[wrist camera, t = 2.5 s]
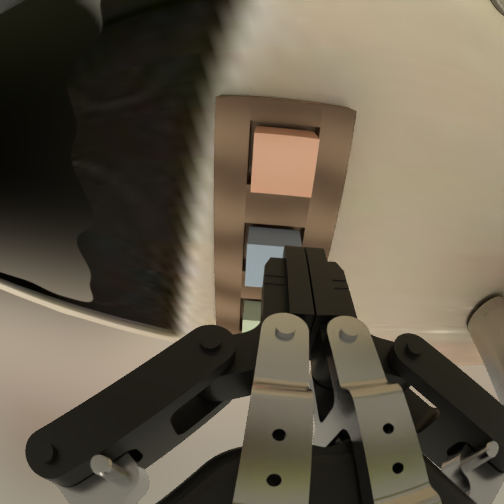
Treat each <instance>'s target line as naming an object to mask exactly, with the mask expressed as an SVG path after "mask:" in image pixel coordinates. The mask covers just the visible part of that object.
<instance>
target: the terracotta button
mask: <svg viewBox="0 0 504 504" xmlns="http://www.w3.org/2000/svg"><path fill="white" fill-rule="evenodd" d="M319 141H320V139H319V138H318V136H317V135H316V134H315V132H313V131H305V130H296V129H287V128H276V127H264V126H256V128H255V132H254V144H253V160H252V176H251V192H254V193H267V194H278V195H289V196H300V197H309V198H311V196H312V189H313V183H314V176H315V169H316V163H317V156H318V148H319Z"/></svg>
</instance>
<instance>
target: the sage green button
mask: <svg viewBox="0 0 504 504" xmlns="http://www.w3.org/2000/svg"><path fill="white" fill-rule="evenodd" d="M260 315H261V301H248V300H245V303H244V312H243V323H242V333H243V332H247V331H250V330H252V329H254V328H255V327H256V326H257V325H258V324H259V323H260Z"/></svg>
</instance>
